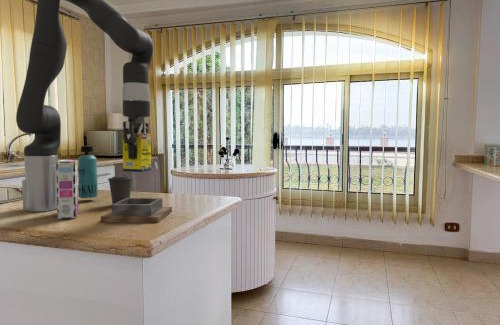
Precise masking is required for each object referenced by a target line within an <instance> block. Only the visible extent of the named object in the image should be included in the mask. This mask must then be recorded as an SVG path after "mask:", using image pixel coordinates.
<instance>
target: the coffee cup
mask: <svg viewBox="0 0 500 325" xmlns="http://www.w3.org/2000/svg"><path fill="white" fill-rule="evenodd" d="M133 179H134V178H133V177H131V176H128V175H124V174H123V175H115V176H112V177H109V178H108V179H107V181H108V182H109V189H110V197H111V202H112V204H114V203H117V202H119V201H121V200H123V199H126V198H131V193H132V192H131V190H132V183H133V182H132V181H133ZM112 204H111V205H112Z"/></svg>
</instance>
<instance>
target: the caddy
mask: <svg viewBox="0 0 500 325" xmlns="http://www.w3.org/2000/svg"><path fill="white" fill-rule="evenodd" d="M163 201H164V200H163V198H162V197H130V198H126V199H123V200H121V201H119V202H117V203H114V204H111V211H109V212H106V213H105V214H103V215H100V222H101V223H150V224H151V223H153V224H154V223H155V224H157V223H160V222H161V221H163V219H165V218H166V217H167V216H168V215H169V214H171V213H172V212H173V206H164V205H163V204H164V203H163Z"/></svg>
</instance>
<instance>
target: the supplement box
mask: <svg viewBox="0 0 500 325" xmlns="http://www.w3.org/2000/svg"><path fill="white" fill-rule="evenodd" d="M134 134H137V133H134ZM127 139H128V137H127ZM136 146H137V159H129V158H128V145H127V143H124V132H123V133H122V172H129V173H131V172H133V173H134V172H135V173H143V172H147V171H152V133H149V134H143V133H140V134H139V137H138V138H137V145H136Z"/></svg>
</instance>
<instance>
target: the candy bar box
mask: <svg viewBox="0 0 500 325" xmlns="http://www.w3.org/2000/svg"><path fill="white" fill-rule="evenodd" d="M56 171H57V209H56V212H57V218H56V219H57V220H60V221H61V220H73V219H76V218H77V217H78V216H77V215H78V212H79V196H78V195H79V190H78V186H79V185H78V159H60V160H58V162H56Z"/></svg>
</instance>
